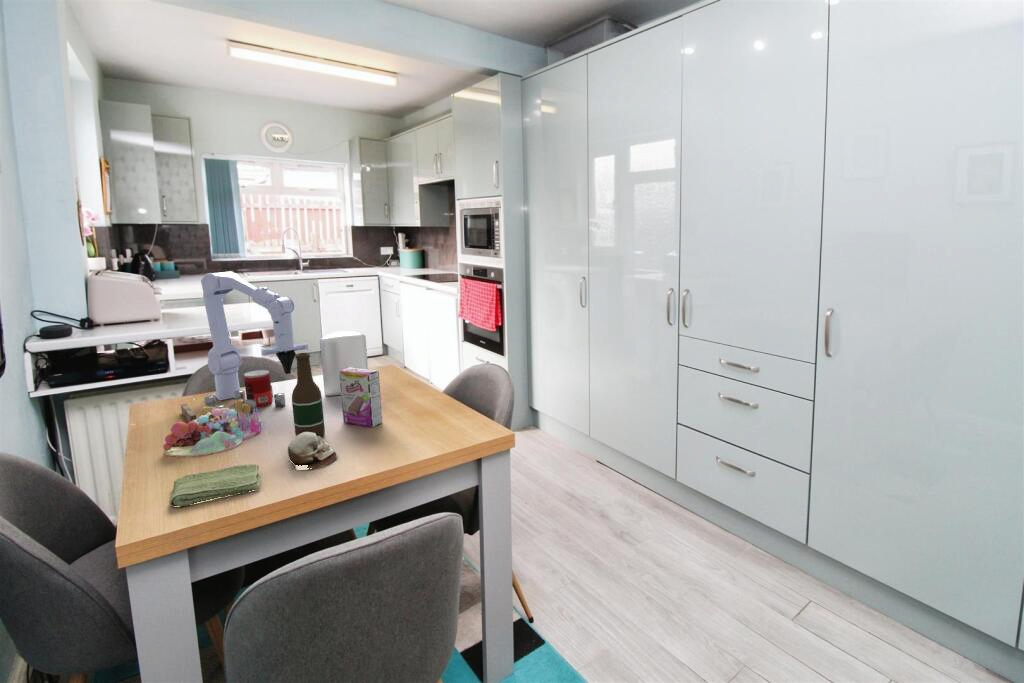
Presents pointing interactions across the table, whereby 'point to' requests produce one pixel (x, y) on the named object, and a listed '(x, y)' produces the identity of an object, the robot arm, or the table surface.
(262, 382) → the canned food
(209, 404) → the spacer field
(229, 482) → the washcloth
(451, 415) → the table surface
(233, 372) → the robot arm
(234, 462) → the table surface
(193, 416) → the stop batten
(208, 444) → the candy landscape model
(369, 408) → the candy bar box
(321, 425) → the beer bottle
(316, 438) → the skull
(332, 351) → the white tall block
